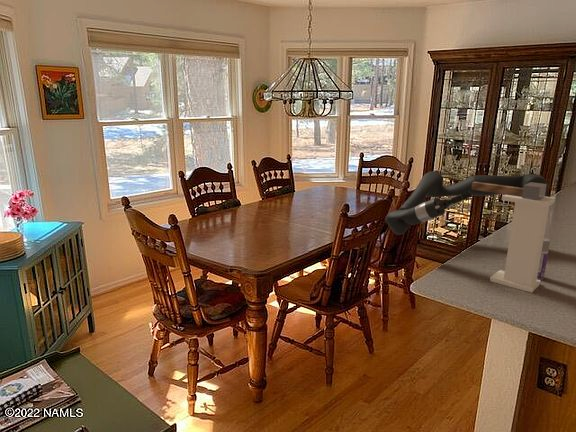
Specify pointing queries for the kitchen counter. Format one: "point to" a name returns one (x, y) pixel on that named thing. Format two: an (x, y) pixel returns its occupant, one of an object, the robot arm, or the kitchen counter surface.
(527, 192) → the mallet
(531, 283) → the stand
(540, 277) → the container
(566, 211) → the kitchen counter surface
